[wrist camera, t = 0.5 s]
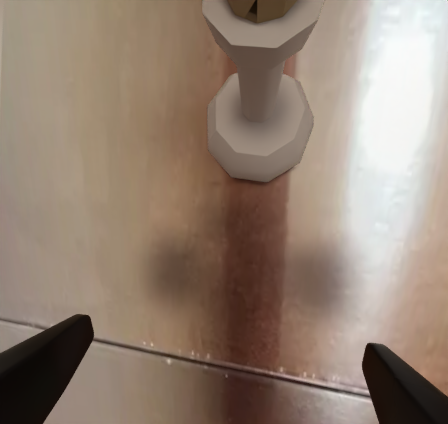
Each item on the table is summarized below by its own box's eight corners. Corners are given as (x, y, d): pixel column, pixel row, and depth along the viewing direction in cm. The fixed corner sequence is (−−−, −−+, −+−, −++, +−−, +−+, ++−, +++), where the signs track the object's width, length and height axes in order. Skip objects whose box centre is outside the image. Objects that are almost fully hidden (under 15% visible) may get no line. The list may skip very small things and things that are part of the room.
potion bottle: (294, 189, 22) (483, 128, 4) (206, 176, 23) (37, 83, 5) (310, 98, 21) (615, -460, 3) (219, 89, 22) (82, -365, 4)
